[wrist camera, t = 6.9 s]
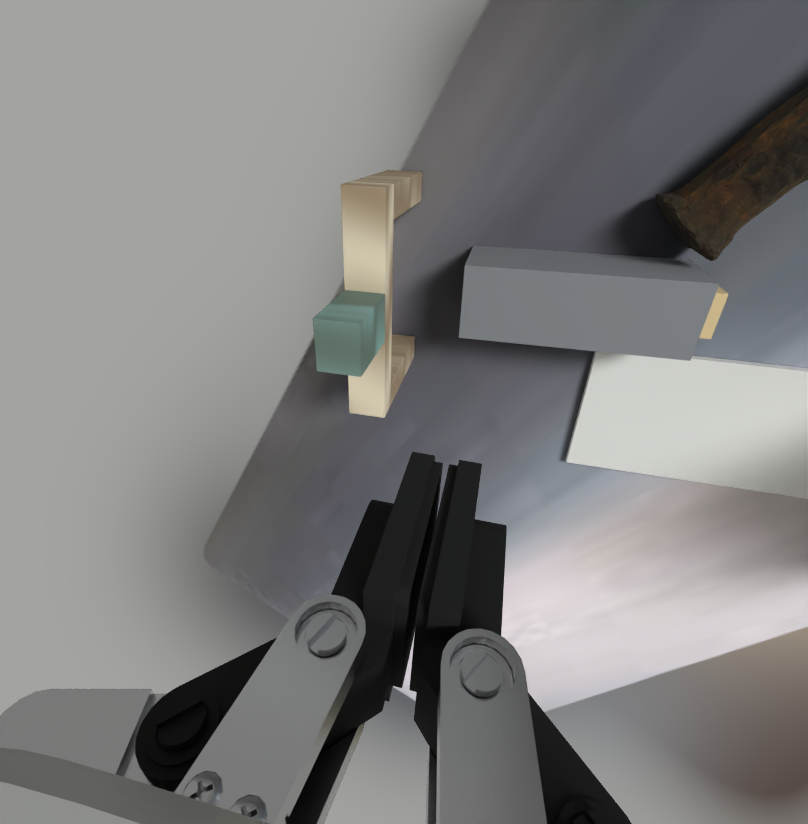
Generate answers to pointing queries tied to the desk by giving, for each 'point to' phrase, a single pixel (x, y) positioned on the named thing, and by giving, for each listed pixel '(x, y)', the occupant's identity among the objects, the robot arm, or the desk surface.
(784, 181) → the hand tool
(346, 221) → the wooden arch block
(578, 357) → the desk surface
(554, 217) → the desk surface
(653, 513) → the desk surface
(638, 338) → the grey block with cap
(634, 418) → the mat
